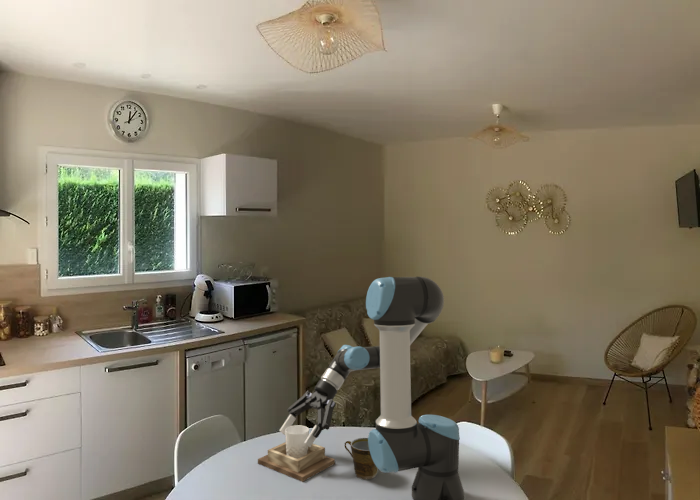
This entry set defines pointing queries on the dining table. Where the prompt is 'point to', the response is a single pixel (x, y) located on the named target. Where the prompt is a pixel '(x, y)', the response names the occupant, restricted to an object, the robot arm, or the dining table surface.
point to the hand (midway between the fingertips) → (294, 438)
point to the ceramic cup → (362, 459)
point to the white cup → (296, 441)
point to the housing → (297, 462)
